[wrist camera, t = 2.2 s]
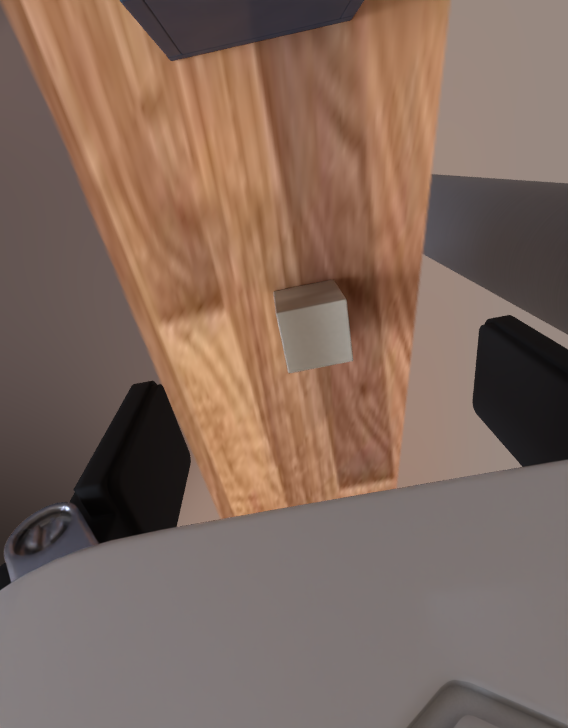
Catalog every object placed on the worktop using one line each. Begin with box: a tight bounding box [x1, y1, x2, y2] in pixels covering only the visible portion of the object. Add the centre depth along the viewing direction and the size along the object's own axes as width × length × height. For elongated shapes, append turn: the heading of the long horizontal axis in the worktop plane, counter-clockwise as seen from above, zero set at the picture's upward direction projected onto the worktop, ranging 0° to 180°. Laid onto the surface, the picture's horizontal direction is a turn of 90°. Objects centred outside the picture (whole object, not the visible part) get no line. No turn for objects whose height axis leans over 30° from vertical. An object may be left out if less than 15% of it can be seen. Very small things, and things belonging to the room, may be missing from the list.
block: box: [273, 280, 353, 373], centre depth 23 cm, size 4×4×4 cm
